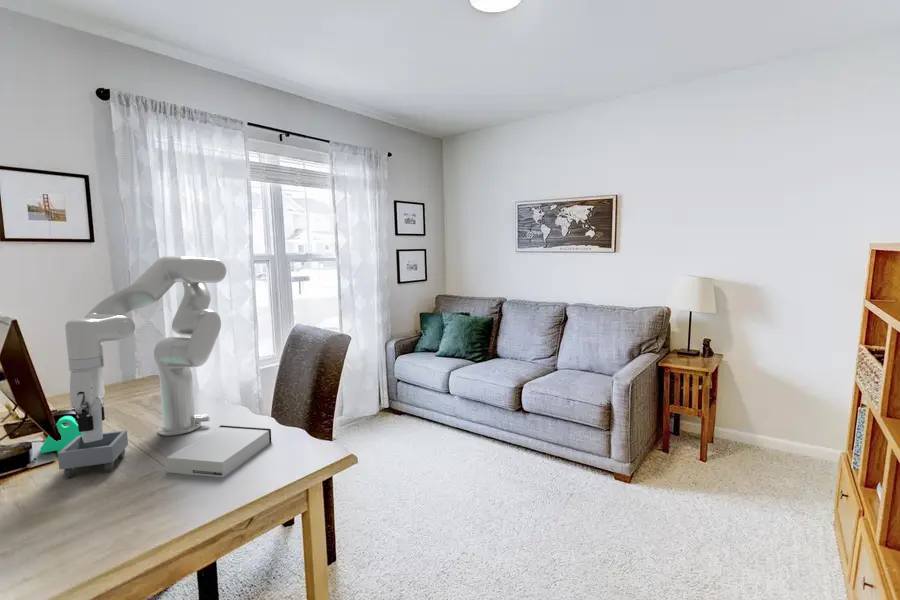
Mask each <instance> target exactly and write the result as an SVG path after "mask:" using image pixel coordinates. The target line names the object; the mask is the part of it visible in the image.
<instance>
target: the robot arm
mask: <svg viewBox="0 0 900 600" xmlns="http://www.w3.org/2000/svg"><path fill="white" fill-rule="evenodd" d="M226 275H227V268H226V266H225V264H224V262H223V261H222V260H220V259H217V258H210V257H209V258H208V257H196V256H189V255H188V256H187V255H186V256H185V255H184V256H183V255H177V256H176V255H171V256H170V255H168V256H163V257H160V258H158V259H156V260H155V262H153V264H151V265H150V266H149V267H148V268H147V269H146V270H145V271H144V272H143V273H142V274H141V275H140V276H139V277H138V278H137V279H136V280H135V281H134V282H132V283H131V284H130V285H129V286H126V287H124V288H122V289H120V290H119V291H117V292H115V293H113V294H111V295H109V296H108V297H106V298H104V299H103V300H101V301H100V302H99V303H97V304H96V305H95V306H94V307H93V308H92V309H91V310H90V311H89V312H88V313H86V315H85V316H84V318H76V319H75V318H73V319H70V320H68V321H67V322H66V323H65V326H64V327H65V328H64V329H65V330H64V331H65V337H66V338H65V339H66V349H67V361H68V370H69V372H70V376H69V399H70V400H69V401H70V407H71V408H72V409H73V410H74V411H75V415H76V419H77V424H78V430H79V432H84V431H92V430H93V429H94V426H93V416H91V408H92V406H93V405H94V404H95V401H96V398H97V397H98V396H100V398H101V411H102V422H103V421H105V420H106V418H105V407H104V405H105V403H104V397H105V395H106V393H105V391H106V389H105V379H104V373H103V368H104V367H105V360H104V349H103V348H104V347H103V343H105V342H118V341H124V340H127V339H129V338H131V336H133V334H134V333H135V330H136V324H135V322H134V320H133V319H132V318H131V317H128V316H126V314H128V313H130V312H133V311H136V310H139V309H143V308H146V307H149V306H151V305H154V304H156V303H158V302H159V301H160V300H161V298H163V296H164V295H166V293H167V292H168V291H169V290H170V289H171V288H172V286H174V285H175V284H176V283H182V286H183V289H184V293H183V296H182V299H181V301H180V304H179V306H178V308H177V310H176V313H175V315H174V317H173V319H172V322H171V330H172V331H173V332H174V333H175V334H177V335H179V336H187V337H176V336H172V337H171V336H170V337H165V338H163V339H160V340H159V341H158V342H157V343H156V344H155V346H154V350H153V357H154V361H155V364H156V366H157V371H158V378H159V387H160V388H159V391H160V399H161V401H160V403H161V413H162V425H160V426H159V427H158V429H157V430H158V431H157V432H158V434H159V435H161V436H170V437H171V436H179V435H185V434H187V433H191V432H193V431H195V430H198V429H199V428H200V427H201V425H202V422H203V423H204V422H210V420H211V418H210V415H208V414H206V413H205V414H201V415H200V414H198V410H197V411H196V406H195V405H196V403H195V394H194V393H195V391H194V377H193V373H192V370H191V369H190V368H199V367H201V366H203V365H204V364H206V363H207V362H208V359H209V358H210V356H211V353H212V352H213V349H214V347H215V344H216V342H217V339H218V336H219V335H220V331H221V327H222V320H221V317H220V315H219V313H218V312H217V311H215V310H212V309H209V306H210V303H211V298H212V297H211V293H210V290H209V287H208V285H207V284H216V283H220V282H221V281H223V280H224V278H226ZM84 401H85V402H87V403H89V404H88V405H83V402H84ZM83 408H87V411H86V410H85V409H83Z"/></svg>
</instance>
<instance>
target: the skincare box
mask: <svg viewBox="0 0 900 600" xmlns="http://www.w3.org/2000/svg"><path fill="white" fill-rule="evenodd" d="M88 404H89V403H87V402H85V401H84V402H83V405H88ZM101 407H102V406H101V398H100V396H98V397H97V398H96V401H95V404H94V405H93V406H92V408H91V416H93V426H94V429H93V430H92V431H84V432H82V439H83V442H84V443H88V442H93V441H97V440H101V439H103V433H104V432H103V421H102V411H101ZM83 409H85V410H86V411H87V408H83Z"/></svg>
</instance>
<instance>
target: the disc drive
mask: <svg viewBox="0 0 900 600" xmlns="http://www.w3.org/2000/svg"><path fill="white" fill-rule="evenodd" d="M271 443H272V429H271V428H264V427H263V428H262V427H252V426H251V427H250V426H249V427H248V426H236V425H235V426H233V425H222V424H221V425H219V427H217V428H215V429H213V430H212V431H210V432H209V433H206V434H205V435H204V436H202V437H200V438H198V439H196V440H194V441H192V442H191V443H189V444H188V445H185V446H184V447H182V448H181V449H178V450H177V451H175V452H173V453H172V454H169V455H168V456H167V457H166V460H165V461H166V471H167V473H170V474H180V475H181V474H182V475H192V476H193V475H194V476H205V477H206V476H207V477H215V478H216V477H218V478H225V477H226V476H227V475H229V474H230V473H231V472H233V471H234V470H236V469H237V468H238V467H240V466H241V465H242V464H243V463H245V462H247V461H248V460H249V459H250V458H252V457H253V456H255V455H256V454H257V453H258V452H260V451H261V450H262V449H264V448H265V447H266V446H268V445H269V444H271Z"/></svg>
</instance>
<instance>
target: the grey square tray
mask: <svg viewBox="0 0 900 600" xmlns="http://www.w3.org/2000/svg"><path fill="white" fill-rule="evenodd" d="M128 446H129V439H128V430H127V429H124V430H116V431H108V432H103V439H101V440H97V441H93V442H88V443H84V442H83V439H82V436H77V437H76V438H75V439H74V440H73V441H71V442H70V443H69V444H68V445H67V446H66V447H64V448H63V449H62V450H61V451H60V452H59V453H57V460H58V470H59V471H60V470H64V471H63V476H64V478H65V479H68V478H73V477H74V475H75V471H76V469H75V468H81V467H88V466H95V465H102V464H103V465H104V471H105V473H110V472H113V471H114V467H115V460H117V459H120V458H122V459H123V458H124V457H125V454H126V448H127V447H128Z"/></svg>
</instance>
